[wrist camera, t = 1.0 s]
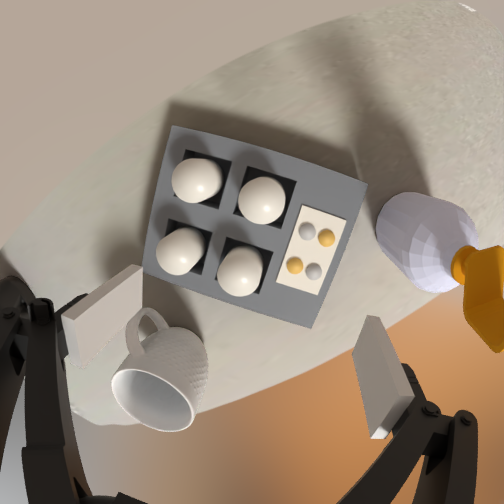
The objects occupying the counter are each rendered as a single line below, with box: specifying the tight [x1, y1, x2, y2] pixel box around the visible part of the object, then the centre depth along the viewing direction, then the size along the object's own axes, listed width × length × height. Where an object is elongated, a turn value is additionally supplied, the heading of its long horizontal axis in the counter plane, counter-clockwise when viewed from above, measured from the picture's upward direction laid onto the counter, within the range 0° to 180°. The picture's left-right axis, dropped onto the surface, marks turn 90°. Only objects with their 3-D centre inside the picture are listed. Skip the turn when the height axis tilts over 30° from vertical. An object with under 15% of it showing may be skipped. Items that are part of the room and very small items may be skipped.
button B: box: [172, 158, 224, 203], centre depth 30 cm, size 4×4×4 cm
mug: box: [111, 308, 208, 432], centre depth 36 cm, size 15×11×13 cm
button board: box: [141, 125, 368, 329], centre depth 34 cm, size 22×18×4 cm
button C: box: [217, 244, 264, 297], centre depth 32 cm, size 4×4×4 cm
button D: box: [238, 176, 286, 224], centre depth 30 cm, size 4×4×4 cm
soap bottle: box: [376, 192, 504, 353], centre depth 22 cm, size 9×9×25 cm
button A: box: [156, 226, 206, 275], centre depth 32 cm, size 4×4×4 cm
